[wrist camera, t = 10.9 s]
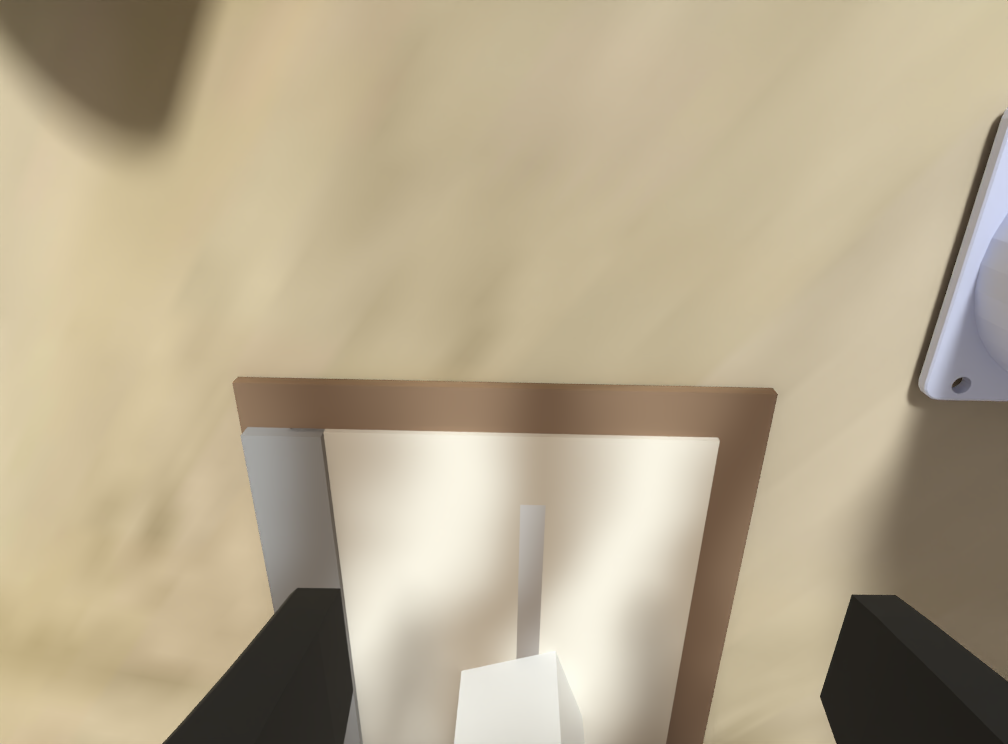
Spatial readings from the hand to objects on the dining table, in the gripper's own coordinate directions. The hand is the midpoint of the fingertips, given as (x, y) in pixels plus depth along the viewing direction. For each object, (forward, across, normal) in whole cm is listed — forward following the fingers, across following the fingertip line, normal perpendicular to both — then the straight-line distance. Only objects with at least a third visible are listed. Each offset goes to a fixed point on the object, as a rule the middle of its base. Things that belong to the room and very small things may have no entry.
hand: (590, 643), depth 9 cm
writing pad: (+10, +1, +10) cm, 14 cm away
